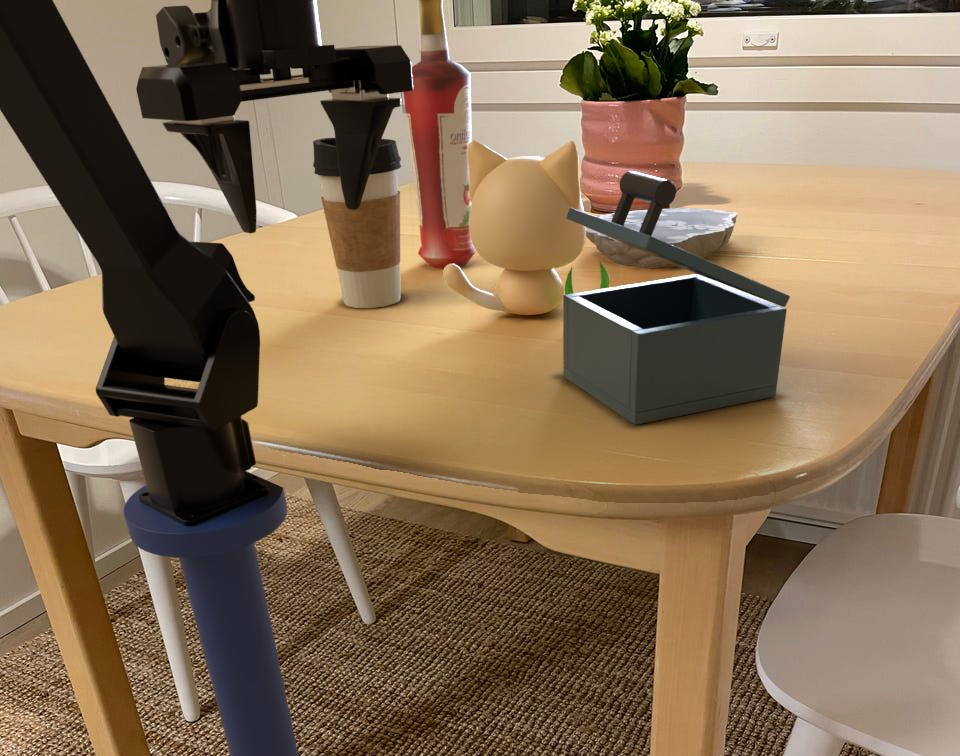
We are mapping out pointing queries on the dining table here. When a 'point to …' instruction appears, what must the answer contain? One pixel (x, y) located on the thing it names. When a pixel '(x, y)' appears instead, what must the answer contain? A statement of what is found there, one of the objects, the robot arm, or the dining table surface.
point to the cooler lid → (659, 197)
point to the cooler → (672, 346)
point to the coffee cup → (364, 226)
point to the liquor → (440, 144)
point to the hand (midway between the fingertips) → (303, 220)
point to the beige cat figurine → (523, 228)
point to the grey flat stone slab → (669, 235)
